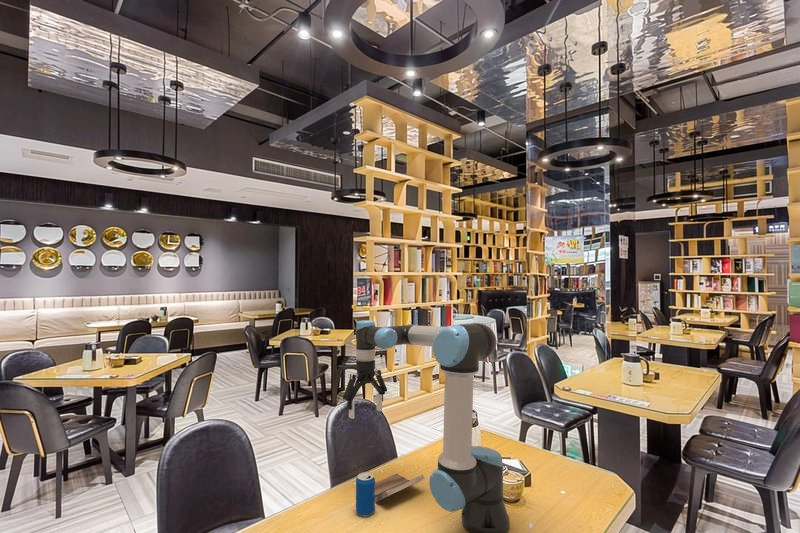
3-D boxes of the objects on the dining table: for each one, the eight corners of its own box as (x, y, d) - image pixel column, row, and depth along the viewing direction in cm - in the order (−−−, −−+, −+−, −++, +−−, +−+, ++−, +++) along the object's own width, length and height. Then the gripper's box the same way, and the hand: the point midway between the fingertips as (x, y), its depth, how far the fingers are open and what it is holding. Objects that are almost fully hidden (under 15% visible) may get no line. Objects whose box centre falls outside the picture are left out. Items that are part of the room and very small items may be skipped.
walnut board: (410, 485, 151) (410, 480, 151) (373, 501, 139) (373, 497, 139) (396, 477, 157) (396, 473, 157) (360, 493, 145) (360, 488, 145)
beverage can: (372, 518, 129) (372, 481, 129) (353, 516, 130) (353, 479, 131) (377, 508, 135) (377, 472, 136) (359, 506, 136) (359, 470, 137)
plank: (424, 478, 145) (422, 474, 146) (387, 496, 133) (385, 491, 134) (412, 485, 150) (411, 480, 151) (375, 502, 138) (374, 497, 139)
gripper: (383, 354, 166) (384, 405, 165) (333, 362, 150) (333, 418, 149) (395, 357, 161) (395, 409, 159) (344, 364, 144) (344, 423, 143)
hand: (365, 414), depth 154 cm, fingers open, 13 cm apart
